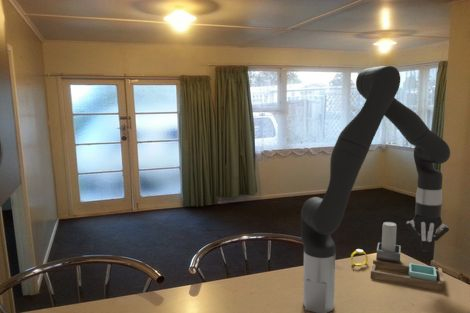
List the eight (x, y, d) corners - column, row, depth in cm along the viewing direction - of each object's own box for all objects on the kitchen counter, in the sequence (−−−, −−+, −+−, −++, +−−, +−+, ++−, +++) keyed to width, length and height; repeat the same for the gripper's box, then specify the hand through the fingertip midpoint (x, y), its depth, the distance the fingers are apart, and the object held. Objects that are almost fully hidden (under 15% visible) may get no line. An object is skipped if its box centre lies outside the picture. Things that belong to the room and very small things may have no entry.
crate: (435, 287, 115) (436, 276, 115) (408, 282, 119) (409, 271, 118) (434, 278, 121) (435, 267, 121) (408, 273, 125) (409, 263, 124)
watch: (365, 264, 135) (367, 249, 134) (367, 267, 132) (369, 252, 131) (349, 262, 135) (351, 248, 134) (351, 266, 133) (353, 251, 132)
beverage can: (392, 251, 135) (394, 221, 134) (397, 257, 131) (398, 226, 129) (379, 251, 136) (381, 221, 134) (383, 256, 131) (385, 225, 129)
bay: (443, 292, 113) (444, 281, 113) (370, 279, 123) (370, 268, 122) (440, 278, 122) (441, 268, 121) (372, 267, 132) (373, 257, 131)
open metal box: (399, 270, 129) (400, 253, 128) (376, 266, 132) (376, 250, 131) (399, 261, 136) (400, 245, 135) (377, 258, 139) (378, 242, 138)
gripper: (406, 202, 115) (403, 252, 118) (453, 206, 109) (449, 258, 112) (406, 196, 122) (403, 243, 125) (450, 200, 116) (447, 249, 119)
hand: (425, 250), depth 118 cm, fingers closed
